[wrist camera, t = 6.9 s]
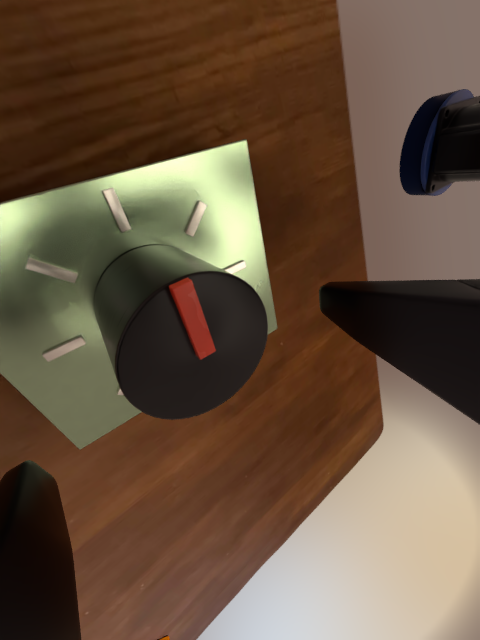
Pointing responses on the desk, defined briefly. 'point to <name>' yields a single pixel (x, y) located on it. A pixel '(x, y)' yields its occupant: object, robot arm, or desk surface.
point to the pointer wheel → (178, 330)
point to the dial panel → (96, 257)
